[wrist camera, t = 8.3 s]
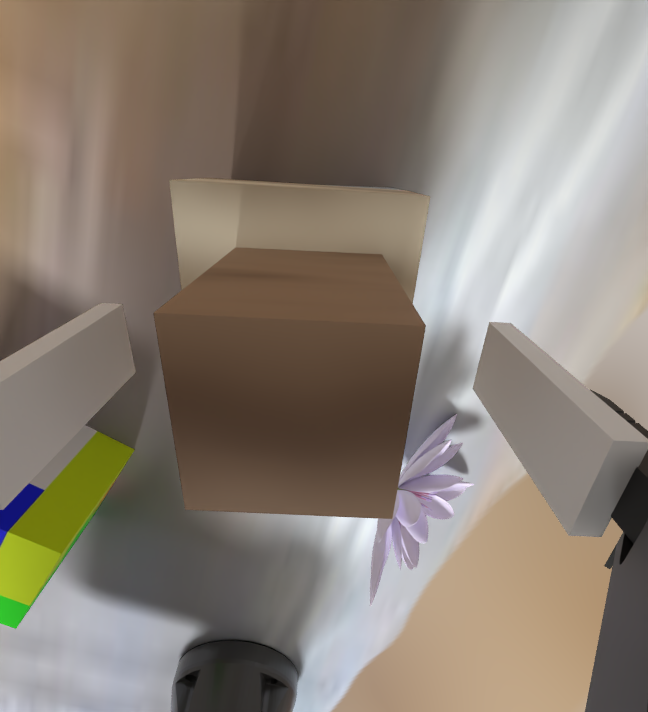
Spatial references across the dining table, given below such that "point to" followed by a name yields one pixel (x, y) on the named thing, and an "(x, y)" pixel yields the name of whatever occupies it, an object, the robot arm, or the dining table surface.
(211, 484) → the walnut block
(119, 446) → the puzzle toy
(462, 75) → the dining table surface
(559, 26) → the dining table surface
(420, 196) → the tower slab upper
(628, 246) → the dining table surface
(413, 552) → the water lily
